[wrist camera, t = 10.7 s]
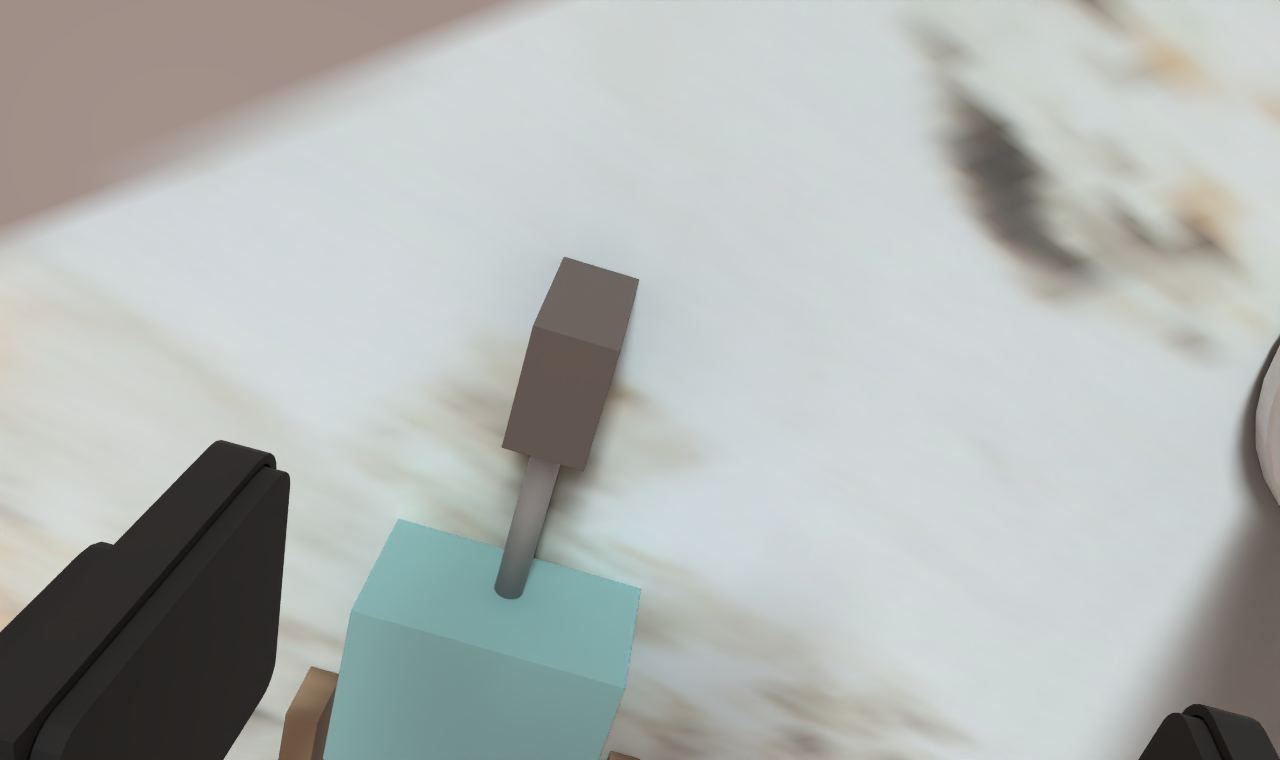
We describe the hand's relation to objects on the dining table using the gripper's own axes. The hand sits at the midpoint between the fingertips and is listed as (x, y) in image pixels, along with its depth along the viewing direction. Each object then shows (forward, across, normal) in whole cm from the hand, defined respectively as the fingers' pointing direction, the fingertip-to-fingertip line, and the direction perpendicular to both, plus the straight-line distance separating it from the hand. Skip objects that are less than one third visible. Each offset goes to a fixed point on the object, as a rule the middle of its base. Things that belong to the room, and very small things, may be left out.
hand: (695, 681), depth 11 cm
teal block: (+22, +4, +14) cm, 26 cm away
